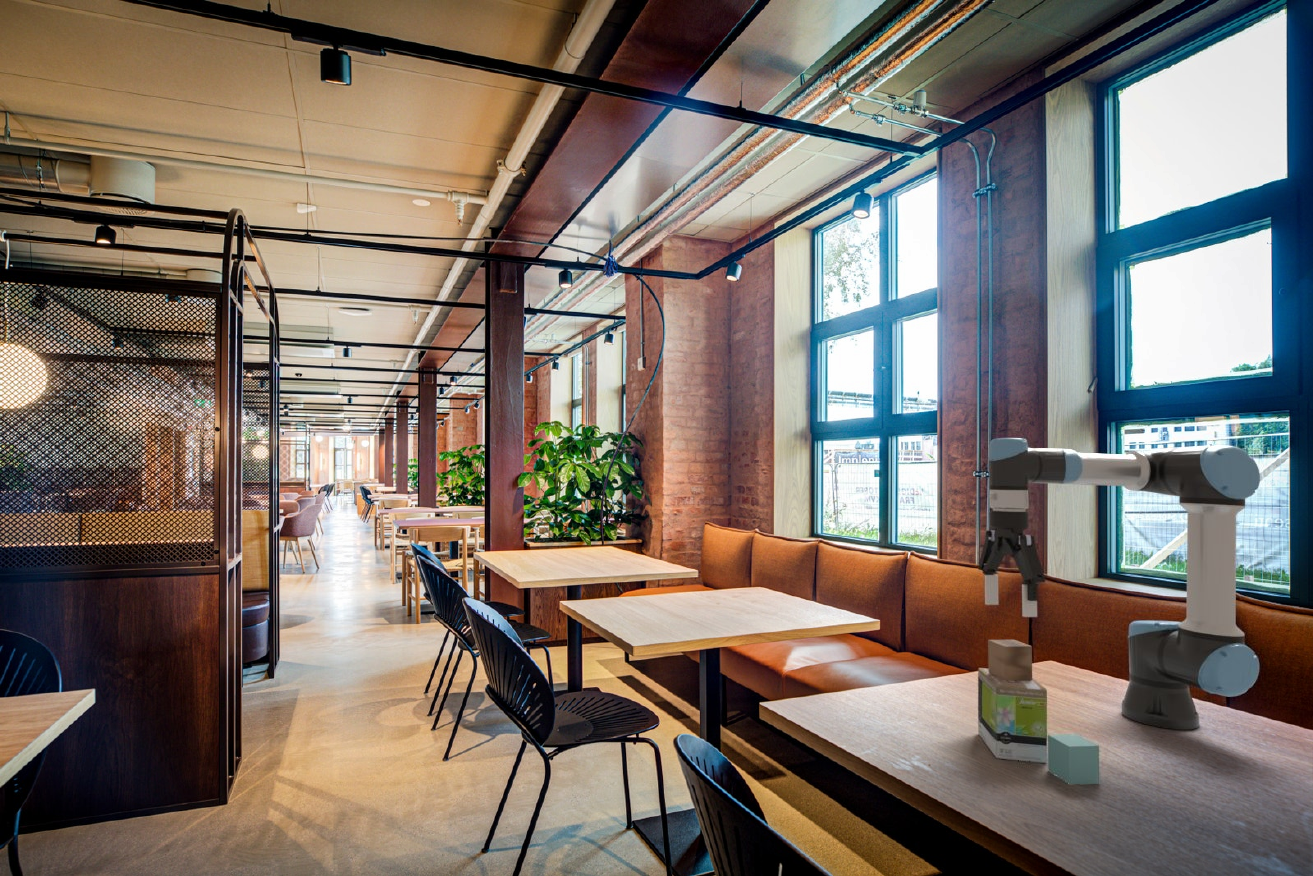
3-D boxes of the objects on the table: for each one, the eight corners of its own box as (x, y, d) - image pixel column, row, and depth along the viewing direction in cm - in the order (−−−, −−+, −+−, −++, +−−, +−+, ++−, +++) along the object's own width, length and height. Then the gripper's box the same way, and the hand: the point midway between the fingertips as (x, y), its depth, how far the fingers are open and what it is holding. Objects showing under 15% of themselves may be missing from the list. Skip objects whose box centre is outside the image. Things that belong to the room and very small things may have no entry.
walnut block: (1014, 672, 154) (1014, 639, 154) (1032, 680, 148) (1031, 646, 148) (988, 672, 153) (988, 640, 153) (1005, 680, 147) (1004, 646, 147)
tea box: (1049, 764, 141) (1048, 688, 142) (995, 759, 143) (994, 685, 144) (1025, 737, 156) (1024, 669, 157) (976, 733, 158) (976, 666, 158)
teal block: (1077, 770, 138) (1076, 734, 138) (1099, 784, 132) (1098, 745, 132) (1048, 771, 137) (1047, 734, 138) (1069, 785, 131) (1068, 746, 132)
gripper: (961, 507, 164) (962, 600, 163) (1028, 513, 139) (1029, 622, 138) (992, 507, 165) (993, 600, 164) (1064, 513, 140) (1065, 622, 139)
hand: (1009, 610), depth 151 cm, fingers open, 13 cm apart
